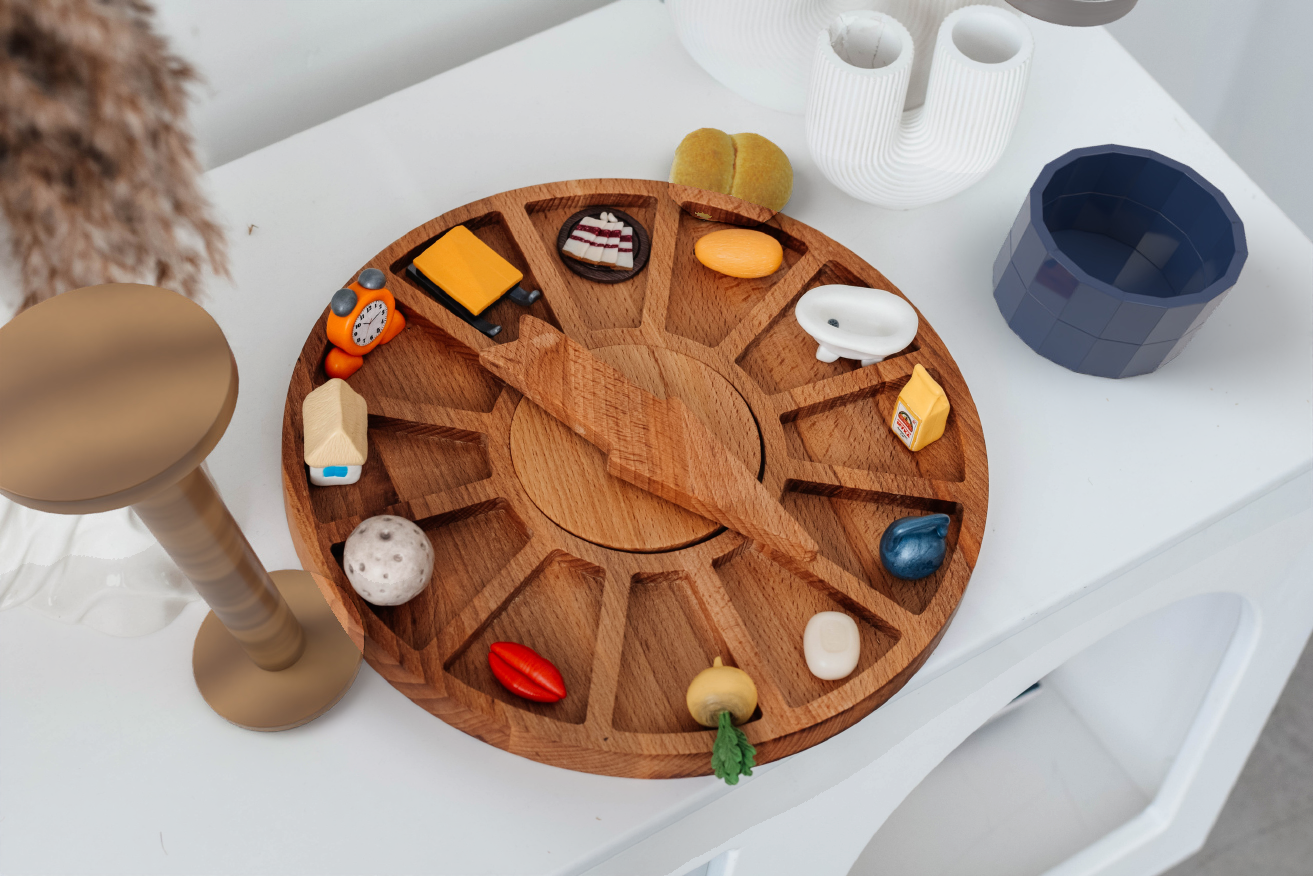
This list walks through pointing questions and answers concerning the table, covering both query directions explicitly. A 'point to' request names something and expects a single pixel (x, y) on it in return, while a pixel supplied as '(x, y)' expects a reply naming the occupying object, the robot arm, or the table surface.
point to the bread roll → (734, 167)
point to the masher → (1075, 11)
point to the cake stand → (165, 483)
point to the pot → (1117, 260)
